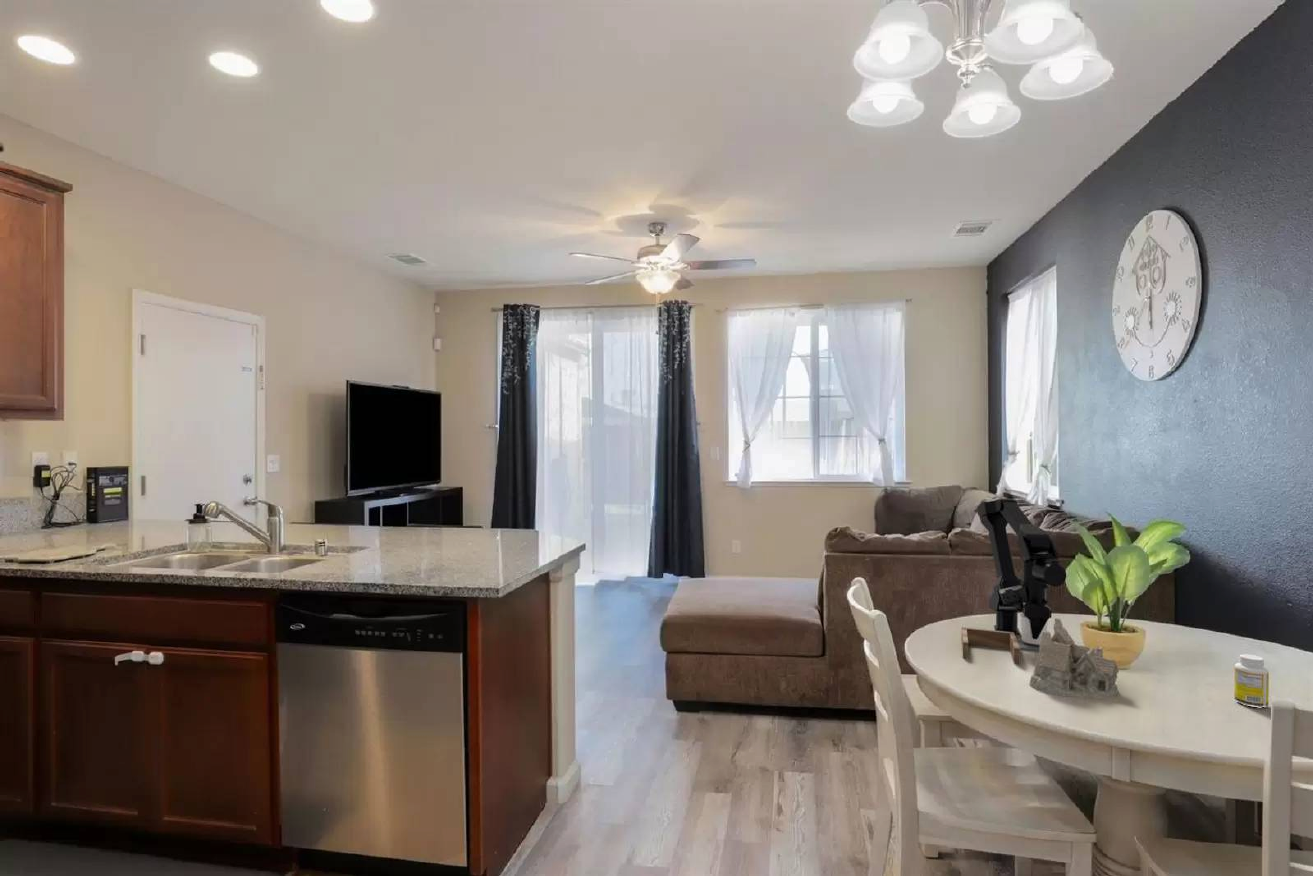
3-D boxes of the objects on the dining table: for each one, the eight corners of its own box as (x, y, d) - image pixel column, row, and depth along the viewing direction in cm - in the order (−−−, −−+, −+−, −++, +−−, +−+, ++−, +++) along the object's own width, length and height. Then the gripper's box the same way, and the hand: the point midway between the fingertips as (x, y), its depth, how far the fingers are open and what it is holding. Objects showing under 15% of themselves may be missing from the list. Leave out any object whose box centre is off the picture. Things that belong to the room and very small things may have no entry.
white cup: (1053, 645, 185) (1053, 619, 185) (1027, 645, 186) (1027, 618, 186) (1039, 637, 192) (1040, 612, 192) (1014, 637, 192) (1015, 612, 192)
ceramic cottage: (1019, 684, 160) (1025, 619, 159) (1054, 673, 169) (1060, 612, 168) (1092, 711, 147) (1099, 641, 146) (1126, 698, 156) (1133, 632, 156)
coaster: (1013, 640, 195) (1013, 638, 195) (1050, 644, 191) (1050, 642, 191) (1016, 649, 186) (1016, 647, 186) (1054, 653, 183) (1054, 651, 183)
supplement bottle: (1250, 699, 152) (1251, 652, 152) (1275, 709, 147) (1276, 660, 147) (1227, 699, 152) (1227, 653, 152) (1251, 710, 146) (1252, 661, 146)
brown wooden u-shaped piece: (961, 641, 193) (961, 627, 193) (1013, 647, 188) (1014, 632, 188) (962, 657, 179) (963, 642, 179) (1019, 664, 174) (1019, 648, 174)
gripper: (998, 569, 201) (998, 623, 201) (1004, 582, 183) (1003, 641, 183) (1042, 573, 196) (1041, 628, 196) (1052, 586, 179) (1051, 646, 179)
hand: (1033, 635), depth 189 cm, fingers closed on white cup, 6 cm apart
